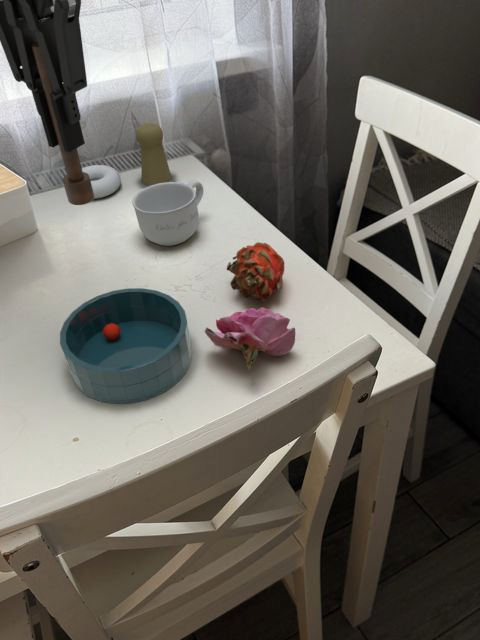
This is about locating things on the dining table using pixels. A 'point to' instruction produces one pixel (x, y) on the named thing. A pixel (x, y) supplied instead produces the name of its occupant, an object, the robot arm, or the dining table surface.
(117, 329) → the red ball
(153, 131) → the olive pawn
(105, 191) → the donut
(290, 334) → the flower
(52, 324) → the dining table surface
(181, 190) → the teacup
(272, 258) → the dragon fruit
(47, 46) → the robot arm
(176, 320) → the bowl
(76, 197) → the stirring stick
